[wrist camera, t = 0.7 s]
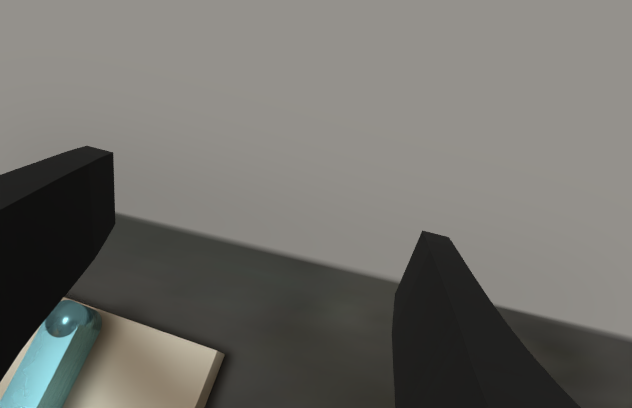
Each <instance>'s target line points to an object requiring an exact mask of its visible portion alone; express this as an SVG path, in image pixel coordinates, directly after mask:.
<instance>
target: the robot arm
mask: <svg viewBox="0 0 632 408" xmlns="http://www.w3.org/2000/svg"><path fill="white" fill-rule="evenodd" d="M114 201H115V200H114V168H113V152H109V151H105V150H101V149H97V148H93V147H89V146H85V147H81V148H77V149H74V150H71V151H67V152H64V153H61V154H59V155H56V156H53V157H50V158H47V159H44V160H42V161H39V162H36V163H33V164H31V165H27V166H24V167H22V168H19V169H16V170H13V171H10V172H7V173H5V174H2V175H0V382H1V380H2V379H3V377H4V376H5V374H6V373H7V371H8V370H9V368H10V367H11V365H12V364H13V362H14V361H15V359H16V358H17V356H18V354H19V353H20V352H21V350H22V349H23V348H24V346H25V345H26V343H27V342H28V341H29V339H30V338H31V337H32V335H33V334H34V333H35V332H36V330H37V329H38V328H39V327H40V326H41V324H42V323H43V322H44V321H45V319H46V318H47V317H48V316H49V315H50V313H51V312H52V311H53V310H54V308H55V307H56V306H57V305H58V303H59V302H60V301H61V300H62V299H63V297H64V296H65V295H66V294H67V292H68V291H69V290H70V289H71V288H72V286H73V285H74V284H75V283H76V281H77V280H78V279H79V278H80V276H81V275H82V274H83V273H84V271H85V270H86V269H87V268H88V266H89V265H90V264H91V263H92V261H93V260H94V259H95V257H96V256H97V254H98V252H99V251H100V249H101V247H102V246H103V244H104V243H105V241H106V239H107V237H108V236H109V234H110V232H111V230H112V229H113V227H114V225H115V203H114ZM392 346H393V368H394V387H395V406H396V408H581V407H580V406H578V405H577V404H576V403H575V402H574V401H573V400H572V398H571V397H570V396H569V395H568V394H567V393H566V392H565V391H564V390H563V389H562V388H561V387H560V386H559V385H558V384H557V383H556V382H555V380H554V379H553V378H552V377H551V376H550V375H549V374H548V373H547V372H546V370H545V369H544V368H543V367H542V366H541V365H540V364H539V363H538V361H537V360H536V359H535V358H534V357H533V356H532V355H531V353H530V352H529V351H528V350H527V349H526V347H525V346H524V345H523V344H522V342H521V341H520V340H519V338H518V337H517V336H516V335H515V333H514V332H513V331H512V329H511V328H510V327H509V326H508V324H507V323H506V322H505V320H504V319H503V318H502V316H501V315H500V313H499V312H498V311H497V309H496V308H495V307H494V305H493V304H492V302H491V301H490V300H489V298H488V297H487V295H486V294H485V292H484V291H483V289H482V288H481V286H480V285H479V283H478V282H477V280H476V279H475V277H474V276H473V274H472V272H471V271H470V270H469V268H468V266H467V265H466V263H465V262H464V260H463V258H462V257H461V255H460V254H459V252H458V251H457V249H456V248H455V246H454V245H453V243H452V241H451V240H450V239H449V237H446V236H441V235H438V234H434V233H430V232H426V231H422V233H421V235H420V238H419V240H418V243H417V245H416V247H415V250H414V251H413V254H412V256H411V259H410V261H409V263H408V265H407V268H406V270H405V272H404V275H403V277H402V279H401V282H400V284H399V286H398V289H397V291H396V293H395V301H394V312H393V326H392Z"/></svg>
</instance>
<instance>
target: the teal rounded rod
mask: <svg viewBox="0 0 632 408" xmlns="http://www.w3.org/2000/svg"><path fill="white" fill-rule="evenodd" d="M101 327H102V318H101V316H100V314H99V313H98V312H97V311H96V310H94V309H92V308H89V307H87V306H84V305H82V304H80V303H77V302H75V301H72V300H63V301H60V302H59V303H58V305H57V306H56V307H55V308H54V310H53V311H52V312H51V313H50V315H49V316H48V317H47V318H46V319H45V321H44V322H43V323H42V324H41V326H40V328H39V330H38V332H37V334H36V335H35V337H34V339H33V341H32V343H31V345H30V347H29V348H28V350H27V352H26V354H25V356H24V358H23V360H22V361H21V363H20V365H19V367H18V369H17V371H16V373H15V374H14V376H13V378H12V380H11V382H10V384H9V385H8V387H7V389H6V391H5V393H4V395H3V397H2V398H1V400H0V408H62V407H63V405H64V403H65V401H66V399H67V397H68V395H69V393H70V391H71V389H72V387H73V385H74V383H75V381H76V379H77V377H78V375H79V373H80V371H81V369H82V367H83V365H84V362H85V360H86V358H87V356H88V354H89V352H90V350H91V348H92V346H93V344H94V342H95V340H96V338H97V336H98V334H99V332H100V330H101Z"/></svg>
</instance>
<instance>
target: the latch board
mask: <svg viewBox="0 0 632 408" xmlns="http://www.w3.org/2000/svg"><path fill="white" fill-rule="evenodd" d="M63 300H71V299H68V298H65V297H63V299H62V300H61V301H63ZM72 301H74V300H72ZM75 302H77V301H75ZM77 303H79V302H77ZM80 304H82V303H80ZM82 305H84V306H87V307H89V308H92V309H94V310H96V311H97V312H98V313H99V314H100V316H101V318H102V327H101V330H100V332H99V334H98V336H97V338H96V340H95V342H94V344H93V346H92V348H91V350H90V352H89V354H88V356H87V358H86V360H85V362H84V365H83V367H82V369H81V371H80V373H79V375H78V377H77V379H76V381H75V383H74V385H73V387H72V389H71V391H70V393H69V395H68V397H67V399H66V401H65V403H64V405H63V407H62V408H204V407H205V405H206V402H207V400H208V397H209V394H210V392H211V389H212V387H213V384H214V382H215V379H216V376H217V374H218V371H219V369H220V366H221V363H222V361H223V358H224V356H225V354H223V353H221V352H219V351H216V350H214V349H211V348H208V347H205V346H202V345H199V344H196V343H194V342H191V341H188V340H185V339H182V338H179V337H176V336H174V335H171V334H168V333H165V332H162V331H159V330H156V329H154V328H151V327H148V326H145V325H142V324H139V323H136V322H134V321H131V320H128V319H125V318H122V317H119V316H117V315H114V314H111V313H108V312H105V311H102V310H99V309H97V308H94V307H91V306H88V305H85V304H82ZM39 328H40V327H39ZM39 328H38V329H37V330H36V332H35V333H34V334H33V335H32V337H31V338H30V339H29V341H28V342H27V343H26V345H25V346H24V348H23V349H22V350H21V352H20V353H19V354H18V356H17V358H16V359H15V361H14V362H13V364H12V365H11V367H10V368H9V370H8V371H7V373H6V374H5V376H4V377H3V379H2V380H1V382H0V400H1V398H2V397H3V395H4V393H5V391H6V389H7V387H8V385H9V384H10V382H11V380H12V378H13V376H14V374H15V373H16V371H17V369H18V367H19V365H20V363H21V361H22V360H23V358H24V356H25V354H26V352H27V350H28V348H29V347H30V345H31V343H32V341H33V339H34V337H35V335H36V334H37V332H38V330H39Z"/></svg>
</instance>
